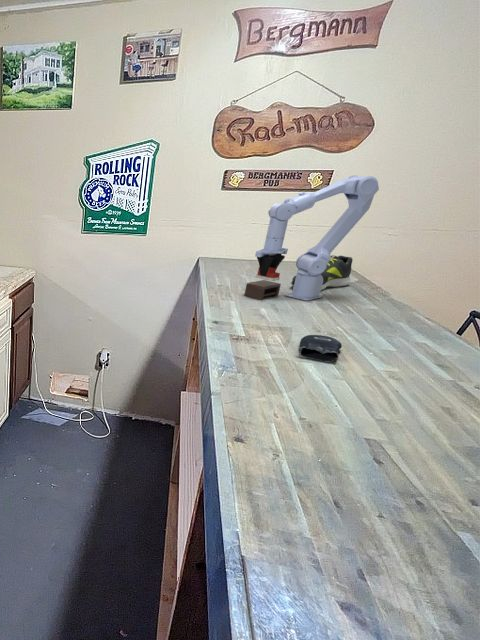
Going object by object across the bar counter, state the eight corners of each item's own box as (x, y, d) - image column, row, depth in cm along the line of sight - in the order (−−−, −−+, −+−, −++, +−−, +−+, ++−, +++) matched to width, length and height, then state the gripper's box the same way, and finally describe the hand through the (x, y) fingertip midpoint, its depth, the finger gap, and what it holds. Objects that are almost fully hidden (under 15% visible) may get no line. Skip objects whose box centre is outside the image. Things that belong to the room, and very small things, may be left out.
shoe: (255, 277, 173) (257, 266, 172) (262, 276, 175) (264, 265, 173) (271, 281, 167) (274, 270, 166) (279, 280, 169) (281, 269, 167)
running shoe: (280, 287, 187) (288, 256, 182) (326, 279, 198) (334, 250, 193) (307, 293, 177) (315, 261, 172) (353, 285, 189) (362, 254, 184)
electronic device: (339, 369, 116) (341, 344, 126) (341, 350, 113) (344, 325, 124) (295, 365, 121) (301, 341, 132) (297, 347, 119) (303, 324, 129)
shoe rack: (260, 292, 180) (263, 279, 178) (277, 296, 174) (281, 283, 172) (244, 295, 176) (246, 282, 174) (260, 300, 170) (263, 286, 168)
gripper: (271, 240, 159) (262, 278, 165) (298, 237, 165) (289, 274, 170) (253, 237, 165) (245, 275, 171) (280, 235, 171) (272, 271, 176)
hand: (266, 274), depth 171 cm, fingers closed on shoe, 3 cm apart
